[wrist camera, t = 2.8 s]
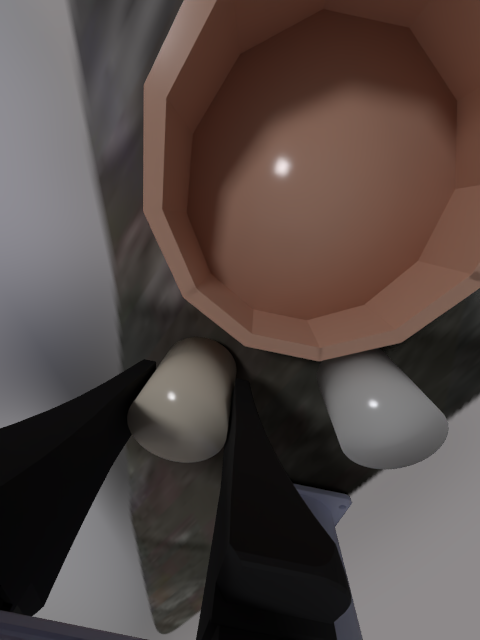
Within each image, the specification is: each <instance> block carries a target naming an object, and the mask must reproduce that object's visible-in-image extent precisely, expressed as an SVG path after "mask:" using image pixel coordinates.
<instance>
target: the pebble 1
mask: <svg viewBox="0 0 480 640" xmlns="http://www.w3.org/2000/svg"><path fill="white" fill-rule="evenodd" d="M235 378H236V364H235V361H234V358H233V356H232V355H231V353H230V352H229V351H228V350H227V349H226V348H225V347H224V346H223V345H221V344H220V343H218V342H216V341H214V340H211V339H208V338H203V337H190V338H186V339H183V340H181V341H179V342H177V343H176V344H175V345H174V346H173V347H172V348H171V349H170V350H169V352H168V353H167V355H166V356H165V358H164V359H163V360H162V362H161V363H160V365H159V366H158V367H157V369H156V370H155V372H154V373H153V375H152V376H151V377H150V379H149V380H148V382H147V383H146V385H145V386H144V387H143V389H142V390H141V392H140V393H139V395H138V396H137V397H136V399H135V400H134V402H133V403H132V405H131V406H130V408H129V410H128V414H127V422H128V426H129V429H130V431H131V434H132V435H133V437H134V438H135V439H136V440H137V442H138V443H139V444H140V445H141V446H143V447H144V448H145V449H146V450H148V451H150V452H151V453H153V454H155V455H157V456H159V457H161V458H164V459H167V460H171V461H176V462H198V461H203V460H206V459H208V458H211V457H212V456H214V455H216V454H217V453H218V452H219V451H220V450H221V449H222V448H223V446H224V444H225V441H226V437H227V431H228V424H229V418H230V411H231V403H232V396H233V390H234V385H235Z"/></svg>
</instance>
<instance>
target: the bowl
mask: <svg viewBox="0 0 480 640" xmlns="http://www.w3.org/2000/svg"><path fill="white" fill-rule="evenodd" d="M143 212H144V214H145V216H146V218H147V220H148V222H149V225H150V227H151V229H152V231H153V233H154V235H155V237H156V240H157V242H158V244H159V246H160V248H161V250H162V253H163V255H164V257H165V259H166V261H167V263H168V266H169V268H170V270H171V272H172V274H173V276H174V279H175V281H176V283H177V285H178V287H179V289H180V291H181V294H182V296H183V298H185V299H186V300H187V301H188V302H190V303H191V304H192V305H193V306H195V307H196V308H197V309H198V310H200V311H201V312H202V313H204V314H205V315H206V316H207V317H209V318H210V319H211V320H212V321H214V322H215V323H216V324H217V325H219V326H220V327H221V328H222V329H224V330H225V331H226V332H228V333H229V334H230V335H231V336H233V337H234V338H235V339H236V340H238V341H239V342H240V343H241V344H243V345H244V346H246V347H251V348H256V349H261V350H266V351H271V352H275V353H280V354H285V355H290V356H295V357H300V358H305V359H310V360H314V361H323V360H327V359H332V358H336V357H340V356H345V355H349V354H353V353H358V352H362V351H367V350H371V349H375V348H380V347H384V346H388V345H393V344H397V343H401V342H403V341H404V340H406V339H407V338H409V337H410V336H411V335H413V334H414V333H416V332H417V331H419V330H420V329H422V328H423V327H424V326H426V325H427V324H429V323H430V322H432V321H433V320H434V319H436V318H437V317H439V316H440V315H442V314H443V313H445V312H446V311H447V310H449V309H450V308H452V307H453V306H455V305H456V304H457V303H459V302H460V301H462V300H463V299H465V298H466V297H467V296H469V295H470V294H472V293H473V292H475V291H476V290H478V289H479V288H480V0H184V1H183V3H182V6H181V8H180V10H179V12H178V14H177V16H176V18H175V20H174V22H173V25H172V27H171V29H170V31H169V33H168V35H167V37H166V39H165V41H164V44H163V46H162V48H161V50H160V52H159V54H158V56H157V58H156V61H155V63H154V65H153V67H152V69H151V71H150V73H149V75H148V77H147V80H146V82H145V84H144V177H143Z"/></svg>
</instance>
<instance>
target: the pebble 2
mask: <svg viewBox="0 0 480 640" xmlns="http://www.w3.org/2000/svg"><path fill="white" fill-rule="evenodd" d="M317 383H318V386H319V388H320V391H321V394H322V397H323V399H324V402H325V405H326V408H327V410H328V413H329V416H330V419H331V421H332V424H333V427H334V429H335V432H336V435H337V438H338V440H339V443H340V446H341V449H342V451H343V452H344V454H345V455H346V456H347V457H348V458H349V459H350V460H352V461H354V462H355V463H357V464H359V465H362V466H365V467H369V468H375V469H396V468H402V467H406V466H410V465H413V464H416V463H418V462H420V461H422V460H424V459H426V458H428V457H429V456H431V455H432V454H434V453H435V452H436V451H437V450H438V449H439V448H440V447H441V446H442V444H443V443H444V441H445V440H446V437H447V434H448V422H447V419H446V417H445V416H444V414H443V413H442V412H441V411H440V410H439V409H438V408H437V407H436V406H435V405H434V404H433V403H432V402H431V400H430V399H429V398H428V397H427V396H426V395H425V394H424V393H423V392H422V391H421V390H420V389H419V388H418V387H417V386H416V385H415V384H414V383H413V382H412V381H411V380H410V379H409V378H408V377H407V375H406V374H405V373H404V372H403V371H402V370H401V369H400V368H399V367H398V366H397V365H396V364H395V363H394V362H393V361H392V360H391V359H390V358H389V357H388V356H387V355H386V354H385V353H384V352H383V351H382V350H381V349H379V348H375V349H371V350H367V351H362V352H358V353H353V354H349V355H345V356H340V357H336V358H332V359H327V360H323V361H322V362H321V363H320V365H319V367H318V370H317Z"/></svg>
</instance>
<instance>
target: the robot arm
mask: <svg viewBox="0 0 480 640" xmlns="http://www.w3.org/2000/svg"><path fill="white" fill-rule="evenodd" d="M155 370H156V362H155V361H150V360H145V359H144V360H142V361H140V362H139V363H137V364H135V365H134V366H132V367H130V368H129V369H127V370H125V371H124V372H122V373H120V374H119V375H117V376H115V377H114V378H112V379H111V380H109V381H107V382H105V383H103V384H101V385H100V386H98V387H96V388H94V389H92V390H90V391H88V392H87V393H85V394H83V395H81V396H79V397H77V398H75V399H73V400H70V401H68V402H66V403H64V404H62V405H60V406H57V407H55V408H53V409H50V410H48V411H46V412H43V413H40V414H38V415H35V416H33V417H30V418H28V419H25V420H23V421H20V422H18V423H15V424H12V425H9V426H7V427H3V428H1V429H0V640H147V639H142V638H137V637H132V636H127V635H122V634H116V633H112V632H107V631H101V630H97V629H92V628H86V627H82V626H77V625H72V624H67V623H62V622H57V621H52V620H47V619H42V618H37V617H32V616H33V615H34V614H35V613H37V612H38V611H39V610H40V609H41V608H42V607H44V605H45V602H46V600H47V598H48V596H49V594H50V591H51V589H52V587H53V585H54V582H55V580H56V578H57V576H58V574H59V572H60V569H61V567H62V565H63V563H64V561H65V558H66V557H67V554H68V552H69V550H70V548H71V546H72V544H73V542H74V540H75V537H76V535H77V533H78V531H79V529H80V527H81V525H82V523H83V521H84V519H85V517H86V515H87V513H88V511H89V509H90V507H91V505H92V503H93V501H94V499H95V497H96V495H97V493H98V491H99V489H100V487H101V485H102V484H103V482H104V480H105V478H106V476H107V474H108V472H109V470H110V468H111V466H112V465H113V463H114V461H115V460H116V458H117V456H118V455H119V453H120V452H121V450H122V449H123V447H124V446H125V444H126V442H127V441H128V439H129V438H130V436H131V435H132V434H131V431H130V429H129V426H128V422H127V414H128V410H129V408H130V406H131V405H132V403H133V402H134V400H135V399H136V397H137V396H138V395H139V393H140V392H141V390H142V389H143V387H144V386H145V385H146V383H147V382H148V380H149V379H150V377H151V376H152V375H153V373H154V372H155ZM351 503H352V502H351V498H350V496H349V495H347V494H343V493H338V492H333V491H328V490H323V489H318V488H313V487H308V486H303V485H298V484H293V483H292V481H291V480H290V478H289V476H288V475H287V473H286V472H285V470H284V468H283V466H282V465H281V463H280V461H279V459H278V457H277V456H276V454H275V452H274V450H273V448H272V446H271V444H270V442H269V439H268V437H267V435H266V433H265V430H264V428H263V426H262V423H261V420H260V418H259V415H258V412H257V409H256V406H255V403H254V400H253V396H252V392H251V388H250V383H249V381H247V380H242V379H237V378H236V381H235V385H234V390H233V396H232V403H231V411H230V418H229V424H228V431H227V437H226V441H225V444H224V456H223V469H222V481H221V489H220V496H219V502H218V509H217V515H216V521H215V527H214V534H213V540H212V546H211V552H210V559H209V565H208V571H207V577H206V583H205V589H204V595H203V601H202V607H201V613H200V619H199V626H198V631H197V637H196V640H363V639H362V635H361V631H360V627H359V623H358V619H357V615H356V611H355V607H354V603H353V599H352V595H351V591H350V587H349V583H348V578H347V575H346V570H345V567H344V563H343V558H342V555H341V550H340V547H339V542H338V538H337V534H336V530H335V526H336V525H337V523H338V522H339V520H340V519H341V518H342V516H343V515H344V514H345V512H346V511H347V509H348V508H349V507H350V505H351Z"/></svg>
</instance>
